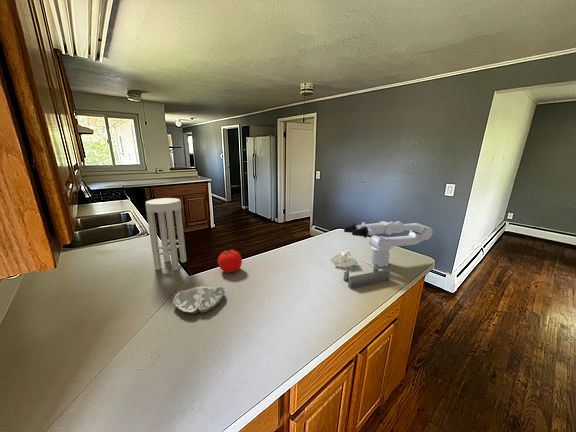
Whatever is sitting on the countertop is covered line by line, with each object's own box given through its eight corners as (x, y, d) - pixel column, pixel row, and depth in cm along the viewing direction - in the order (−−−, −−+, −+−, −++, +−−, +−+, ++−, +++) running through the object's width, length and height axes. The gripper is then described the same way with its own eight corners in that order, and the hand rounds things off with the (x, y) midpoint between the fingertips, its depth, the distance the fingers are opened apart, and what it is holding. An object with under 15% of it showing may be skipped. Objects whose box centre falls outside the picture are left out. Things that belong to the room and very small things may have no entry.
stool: (179, 272, 120) (171, 204, 111) (148, 271, 120) (138, 203, 111) (191, 258, 135) (185, 198, 126) (164, 258, 135) (156, 197, 126)
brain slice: (169, 322, 86) (168, 315, 85) (177, 295, 101) (176, 289, 101) (225, 313, 91) (225, 307, 90) (224, 289, 106) (224, 283, 106)
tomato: (244, 266, 127) (244, 246, 124) (238, 277, 116) (237, 256, 113) (223, 264, 128) (222, 245, 125) (214, 275, 117) (213, 254, 114)
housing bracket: (377, 272, 123) (378, 263, 121) (388, 280, 115) (390, 271, 114) (340, 279, 115) (341, 270, 114) (350, 288, 108) (351, 279, 106)
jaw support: (352, 267, 121) (341, 251, 123) (340, 275, 126) (329, 259, 129) (361, 259, 130) (350, 245, 133) (350, 267, 135) (339, 253, 138)
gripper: (363, 219, 131) (341, 221, 127) (380, 223, 117) (356, 226, 113) (363, 232, 132) (341, 234, 128) (380, 237, 118) (356, 240, 114)
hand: (348, 231), depth 121 cm, fingers open, 7 cm apart
